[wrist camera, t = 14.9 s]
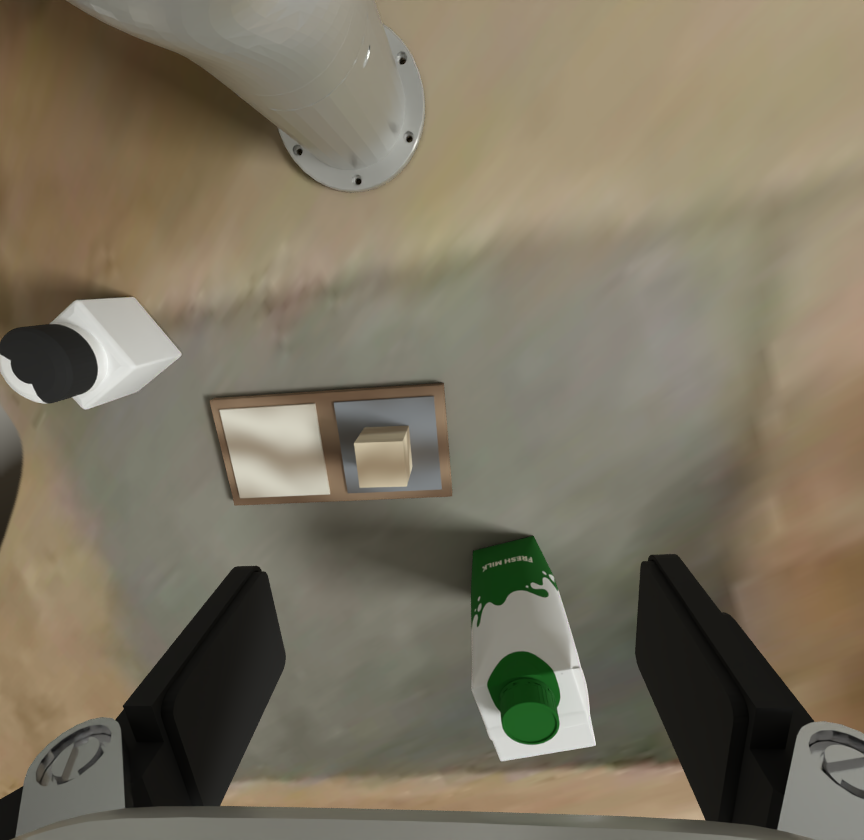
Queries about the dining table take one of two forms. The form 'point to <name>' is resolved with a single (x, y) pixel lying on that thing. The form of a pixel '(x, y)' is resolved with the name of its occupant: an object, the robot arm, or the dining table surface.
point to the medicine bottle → (87, 353)
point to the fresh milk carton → (525, 655)
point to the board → (328, 443)
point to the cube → (383, 456)
